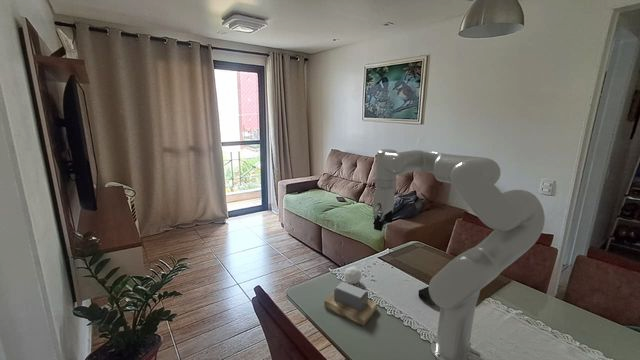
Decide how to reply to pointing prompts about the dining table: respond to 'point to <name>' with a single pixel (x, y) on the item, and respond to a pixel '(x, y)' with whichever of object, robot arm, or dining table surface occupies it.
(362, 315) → the oak stand
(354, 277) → the geometric ball
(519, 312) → the dining table surface
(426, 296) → the black sponge
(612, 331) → the dining table surface
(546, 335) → the dining table surface
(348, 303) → the grey rectangular block
